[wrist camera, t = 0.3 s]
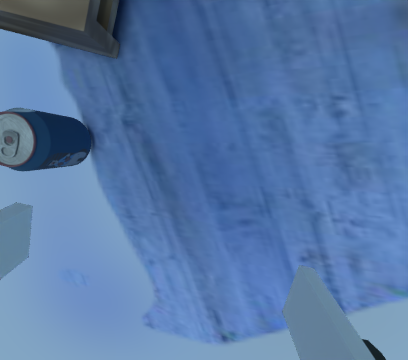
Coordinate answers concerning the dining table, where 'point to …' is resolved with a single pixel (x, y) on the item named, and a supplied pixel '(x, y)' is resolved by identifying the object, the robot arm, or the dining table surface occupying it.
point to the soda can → (41, 140)
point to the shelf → (64, 22)
